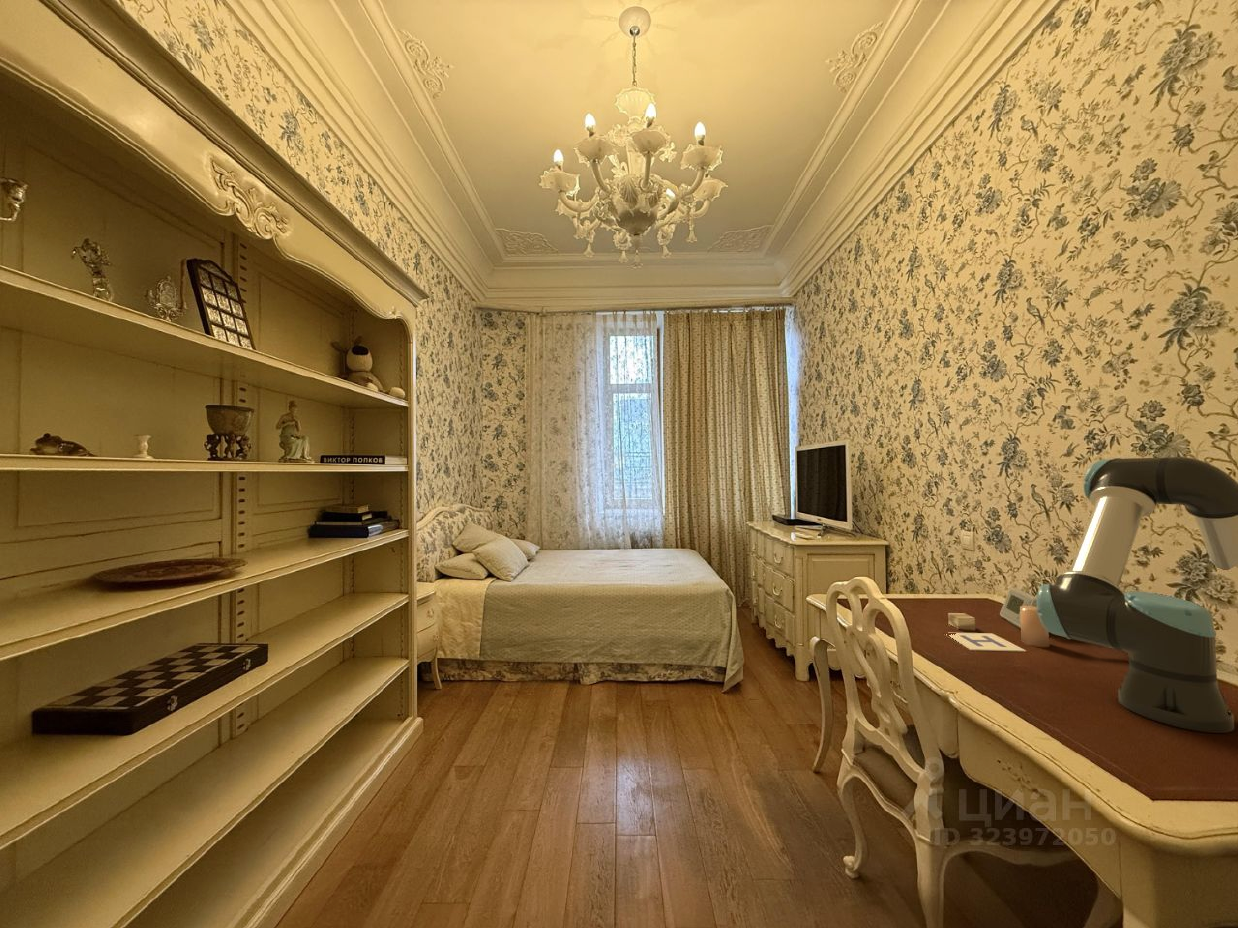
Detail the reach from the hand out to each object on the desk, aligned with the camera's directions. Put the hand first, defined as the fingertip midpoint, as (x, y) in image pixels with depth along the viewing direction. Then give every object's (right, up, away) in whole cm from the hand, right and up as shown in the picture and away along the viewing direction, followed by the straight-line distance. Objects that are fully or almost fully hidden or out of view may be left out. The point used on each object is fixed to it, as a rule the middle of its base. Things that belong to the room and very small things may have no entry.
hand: (1051, 622), depth 134 cm
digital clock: (+5, -7, +16) cm, 18 cm away
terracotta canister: (-5, -6, 0) cm, 8 cm away
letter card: (-19, -6, +2) cm, 20 cm away
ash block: (-15, -7, +15) cm, 22 cm away
